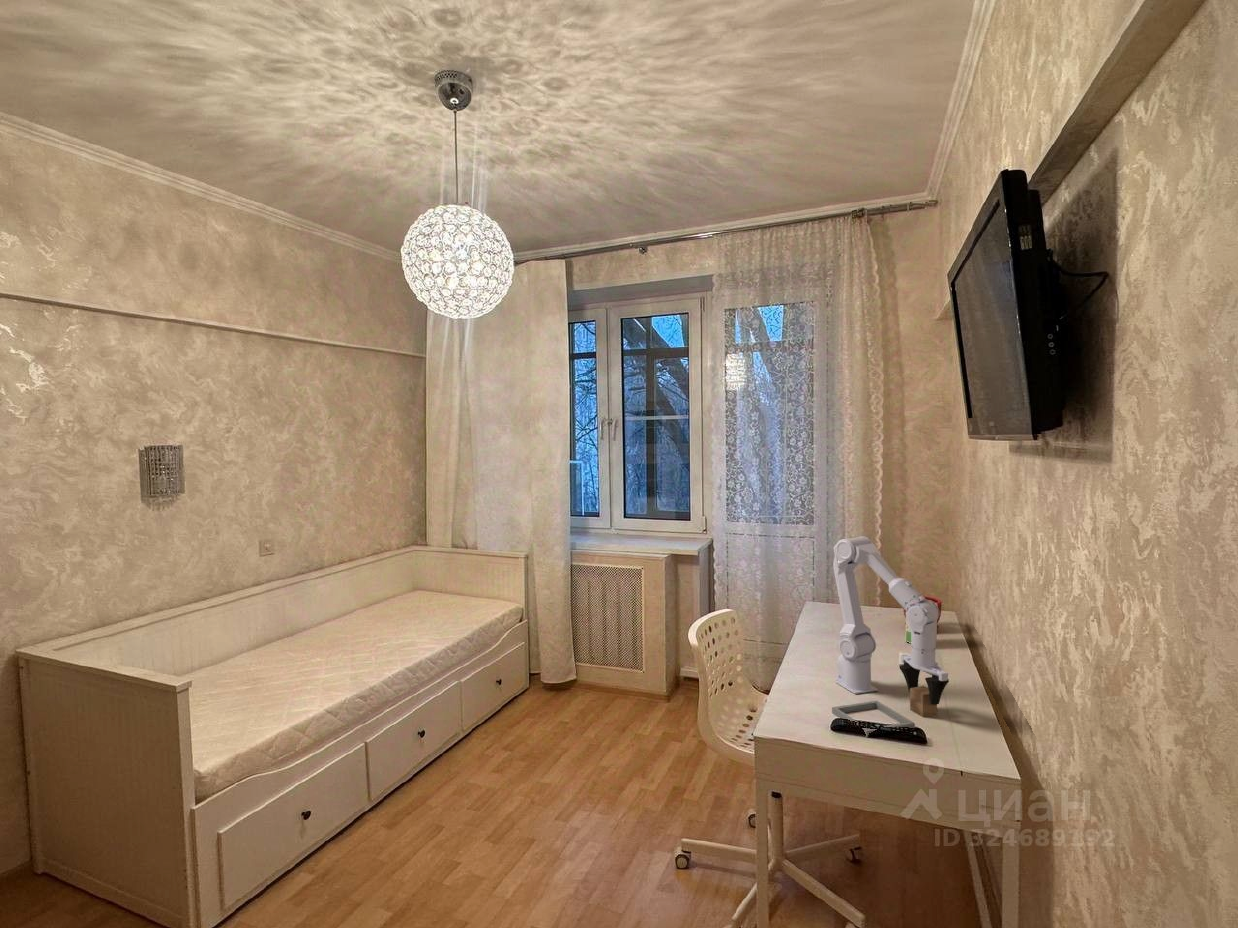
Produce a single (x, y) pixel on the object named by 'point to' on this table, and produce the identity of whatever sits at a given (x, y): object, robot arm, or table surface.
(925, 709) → the walnut block
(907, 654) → the hard drive
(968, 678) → the table surface
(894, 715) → the tray frame
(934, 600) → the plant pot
